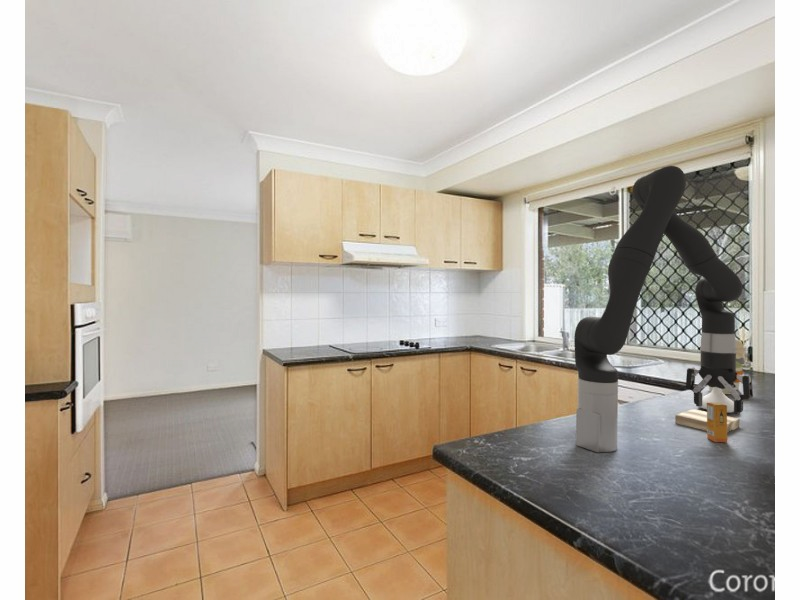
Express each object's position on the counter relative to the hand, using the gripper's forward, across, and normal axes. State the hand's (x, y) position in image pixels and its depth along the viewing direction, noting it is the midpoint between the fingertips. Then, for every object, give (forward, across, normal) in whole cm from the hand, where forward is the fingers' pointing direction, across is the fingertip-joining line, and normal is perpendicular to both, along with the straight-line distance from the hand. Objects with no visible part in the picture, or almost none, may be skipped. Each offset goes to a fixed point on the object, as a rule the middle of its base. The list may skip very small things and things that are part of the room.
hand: (717, 409), depth 110 cm
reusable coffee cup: (+9, -21, +67) cm, 71 cm away
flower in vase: (+9, -11, +34) cm, 36 cm away
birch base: (+8, -7, +12) cm, 17 cm away
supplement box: (+8, 0, 0) cm, 8 cm away
